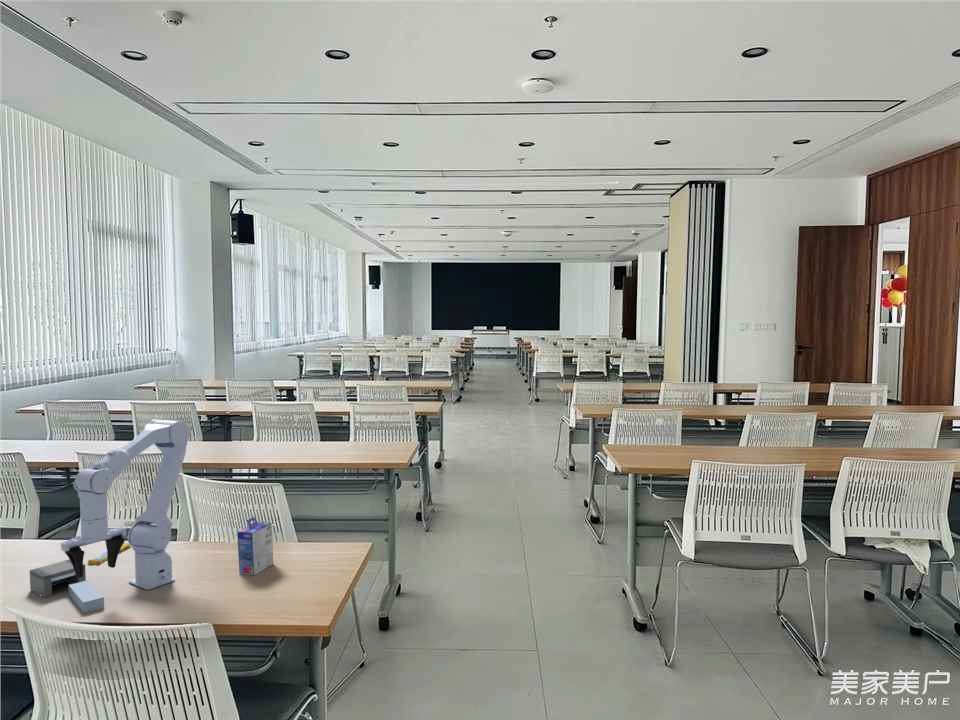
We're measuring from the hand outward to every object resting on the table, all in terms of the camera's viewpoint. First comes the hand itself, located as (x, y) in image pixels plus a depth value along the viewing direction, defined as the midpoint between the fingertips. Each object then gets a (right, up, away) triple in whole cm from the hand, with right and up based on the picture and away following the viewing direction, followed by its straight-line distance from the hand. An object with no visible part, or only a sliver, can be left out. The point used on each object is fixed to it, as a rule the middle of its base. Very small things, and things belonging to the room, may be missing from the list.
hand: (95, 571), depth 161 cm
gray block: (-17, -8, +11) cm, 22 cm away
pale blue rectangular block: (-4, -9, +3) cm, 10 cm away
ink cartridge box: (+31, -8, +25) cm, 41 cm away
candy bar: (-17, -8, +36) cm, 41 cm away
